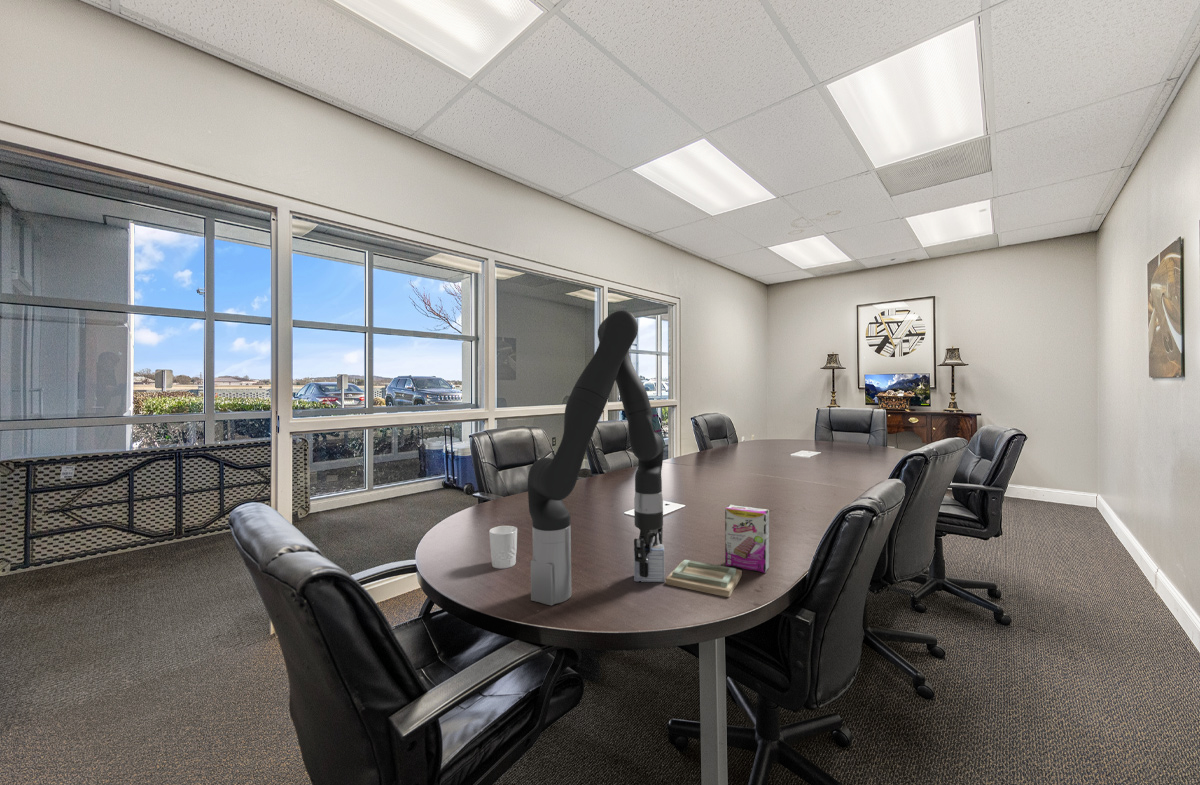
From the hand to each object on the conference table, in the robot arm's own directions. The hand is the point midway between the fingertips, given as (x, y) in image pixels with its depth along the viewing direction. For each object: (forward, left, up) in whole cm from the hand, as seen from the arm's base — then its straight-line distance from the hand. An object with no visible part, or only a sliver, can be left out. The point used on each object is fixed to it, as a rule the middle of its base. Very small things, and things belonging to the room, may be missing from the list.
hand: (649, 571), depth 121 cm
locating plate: (+6, -13, -2) cm, 14 cm away
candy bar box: (+20, -21, -2) cm, 29 cm away
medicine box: (0, 0, -2) cm, 2 cm away
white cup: (-10, +41, -2) cm, 42 cm away
